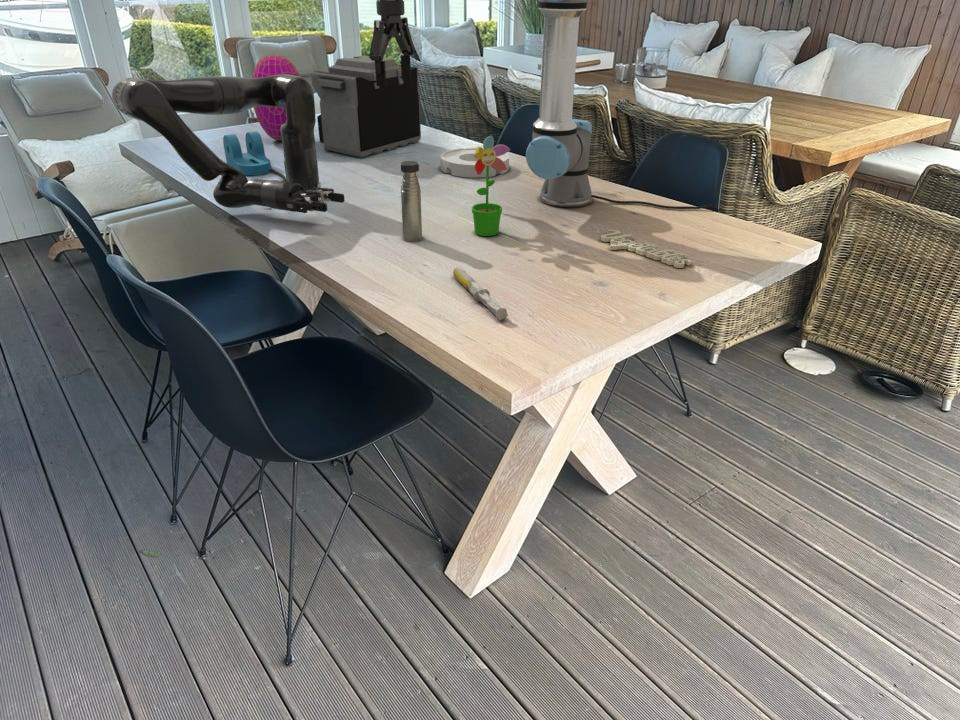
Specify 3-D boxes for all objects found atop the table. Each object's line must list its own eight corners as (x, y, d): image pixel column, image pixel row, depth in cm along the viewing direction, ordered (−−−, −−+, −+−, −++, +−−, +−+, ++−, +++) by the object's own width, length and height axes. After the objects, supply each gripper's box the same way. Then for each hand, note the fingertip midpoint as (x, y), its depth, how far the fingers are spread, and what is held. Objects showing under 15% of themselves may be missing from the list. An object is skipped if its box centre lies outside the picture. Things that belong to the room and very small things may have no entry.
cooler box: (383, 133, 276) (378, 52, 261) (425, 141, 265) (422, 56, 250) (314, 150, 251) (304, 61, 235) (358, 160, 240) (350, 67, 224)
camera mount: (227, 164, 233) (221, 132, 227) (257, 160, 238) (252, 129, 233) (244, 176, 220) (239, 143, 215) (276, 172, 225) (271, 139, 220)
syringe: (449, 274, 155) (449, 263, 153) (465, 272, 156) (464, 260, 154) (490, 323, 135) (491, 310, 133) (508, 319, 136) (508, 307, 134)
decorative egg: (293, 132, 276) (283, 50, 261) (319, 140, 264) (310, 56, 249) (249, 139, 265) (236, 54, 250) (273, 148, 253) (261, 60, 238)
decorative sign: (586, 237, 174) (611, 228, 179) (586, 240, 174) (611, 231, 180) (674, 268, 157) (698, 257, 162) (673, 272, 157) (698, 261, 163)
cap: (422, 170, 166) (422, 162, 166) (410, 174, 163) (410, 166, 162) (409, 167, 169) (408, 159, 168) (397, 171, 166) (396, 163, 165)
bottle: (426, 237, 175) (423, 164, 166) (413, 243, 172) (410, 168, 162) (411, 233, 178) (408, 161, 168) (399, 238, 174) (395, 165, 165)
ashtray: (443, 158, 243) (443, 147, 241) (508, 159, 242) (508, 148, 240) (437, 176, 223) (437, 164, 221) (508, 178, 222) (509, 165, 220)
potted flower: (478, 239, 174) (479, 138, 161) (464, 230, 180) (464, 131, 167) (510, 234, 178) (514, 134, 165) (496, 224, 184) (498, 128, 171)
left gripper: (263, 188, 175) (319, 196, 170) (295, 174, 186) (348, 181, 182) (268, 217, 179) (322, 225, 174) (298, 201, 190) (350, 209, 185)
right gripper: (401, -4, 196) (405, 76, 206) (351, 0, 176) (358, 88, 187) (424, -3, 193) (427, 78, 204) (376, 1, 173) (382, 90, 184)
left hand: (335, 202), depth 178 cm, fingers open, 8 cm apart
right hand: (394, 83), depth 195 cm, fingers open, 13 cm apart
